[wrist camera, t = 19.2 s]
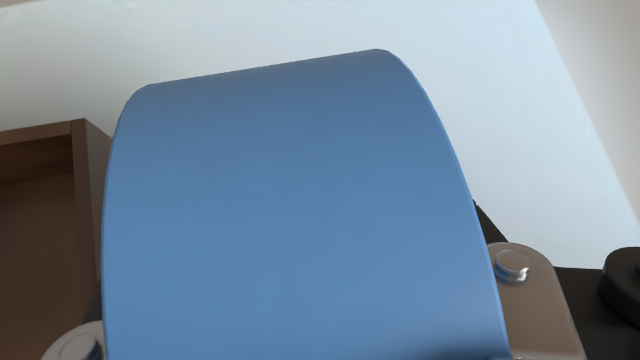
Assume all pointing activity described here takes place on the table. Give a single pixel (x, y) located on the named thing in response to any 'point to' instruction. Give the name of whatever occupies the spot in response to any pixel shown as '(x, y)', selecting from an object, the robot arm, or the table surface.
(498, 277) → the robot arm
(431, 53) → the table surface
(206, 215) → the tape roll
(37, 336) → the wooden box
